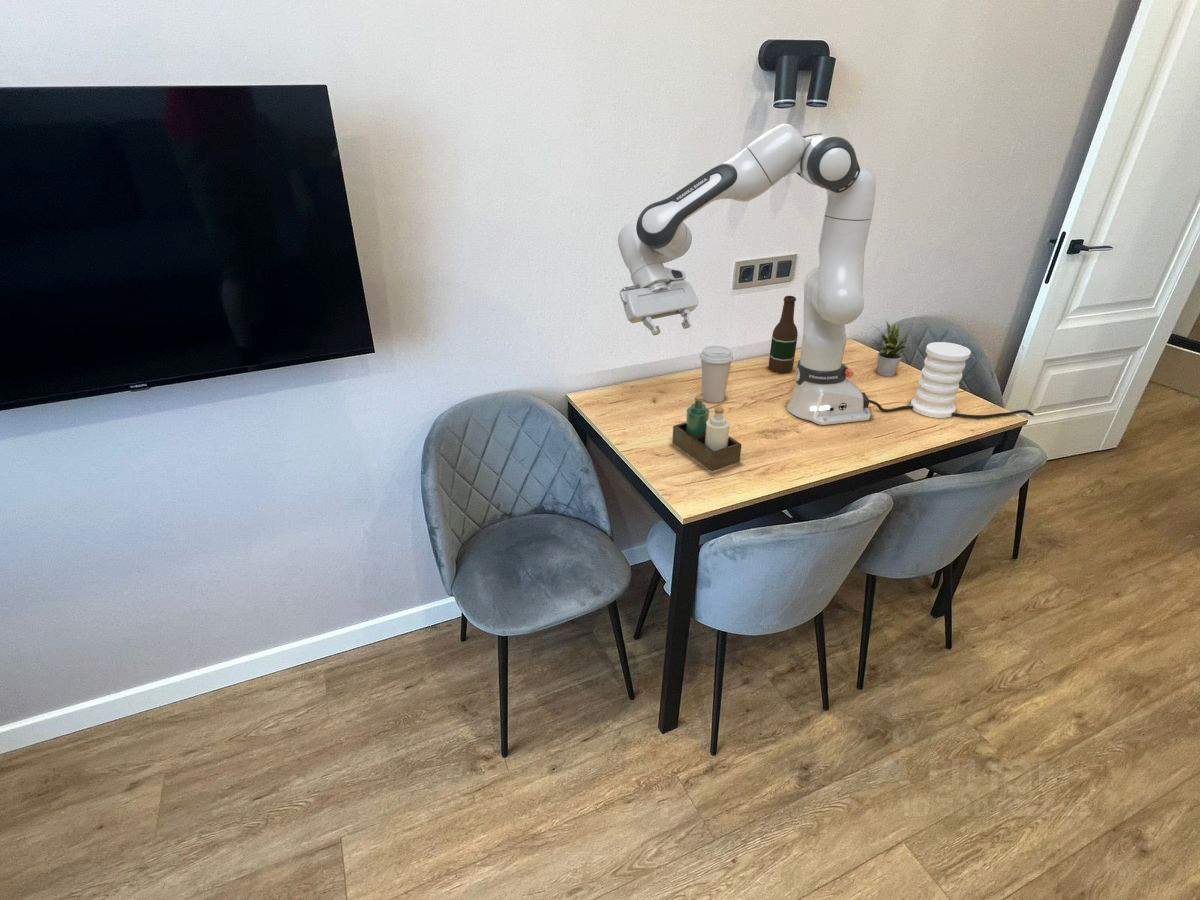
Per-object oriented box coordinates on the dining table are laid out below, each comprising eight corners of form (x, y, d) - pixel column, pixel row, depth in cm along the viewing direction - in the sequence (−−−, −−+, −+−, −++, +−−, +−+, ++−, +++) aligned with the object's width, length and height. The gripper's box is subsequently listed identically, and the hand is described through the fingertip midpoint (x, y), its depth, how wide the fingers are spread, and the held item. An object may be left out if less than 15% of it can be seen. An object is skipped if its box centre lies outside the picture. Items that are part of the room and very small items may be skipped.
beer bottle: (793, 374, 205) (804, 301, 193) (768, 373, 206) (777, 299, 194) (791, 365, 211) (802, 293, 199) (767, 364, 213) (776, 292, 201)
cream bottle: (724, 452, 161) (729, 403, 154) (728, 464, 156) (733, 413, 149) (702, 453, 161) (705, 403, 154) (705, 464, 156) (709, 414, 149)
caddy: (672, 445, 166) (673, 425, 164) (698, 437, 170) (700, 417, 167) (711, 474, 154) (713, 453, 151) (739, 464, 158) (741, 444, 155)
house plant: (851, 364, 211) (860, 316, 203) (891, 362, 213) (902, 314, 204) (872, 381, 199) (882, 331, 191) (914, 379, 200) (927, 329, 192)
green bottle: (705, 440, 167) (708, 391, 160) (708, 450, 162) (712, 401, 155) (683, 440, 167) (686, 392, 160) (686, 451, 162) (689, 401, 155)
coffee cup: (693, 401, 189) (696, 354, 181) (701, 389, 196) (704, 342, 189) (725, 406, 185) (730, 358, 178) (732, 393, 193) (737, 346, 186)
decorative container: (964, 413, 180) (982, 352, 171) (933, 421, 176) (950, 359, 167) (931, 397, 189) (946, 339, 180) (901, 404, 185) (915, 345, 176)
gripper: (622, 281, 156) (643, 332, 153) (689, 270, 165) (710, 318, 162) (612, 295, 161) (632, 344, 159) (678, 283, 170) (698, 329, 168)
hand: (672, 330), depth 161 cm, fingers open, 8 cm apart
